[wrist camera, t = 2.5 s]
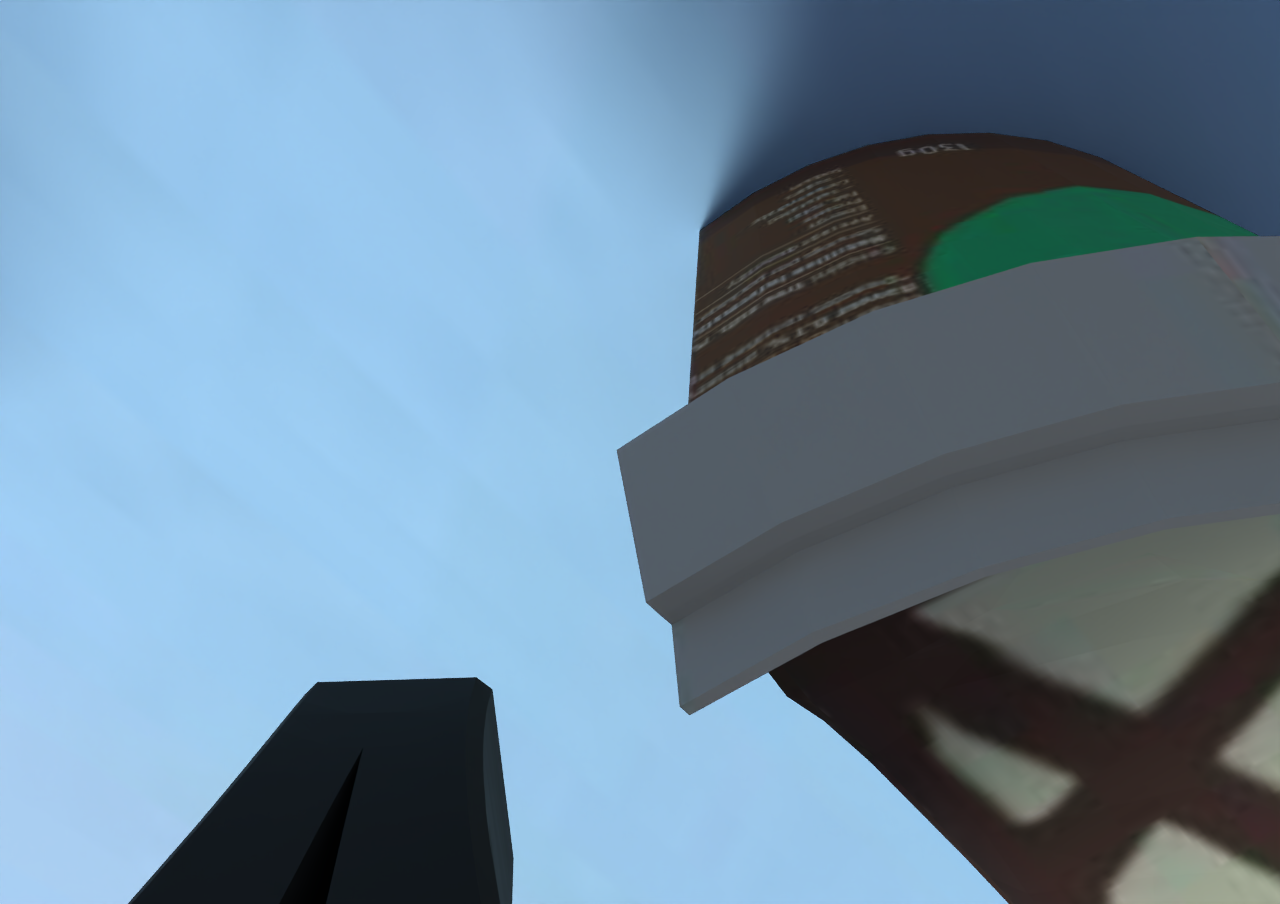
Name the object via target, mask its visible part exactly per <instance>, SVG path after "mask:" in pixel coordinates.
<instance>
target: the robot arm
mask: <svg viewBox="0 0 1280 904" xmlns="http://www.w3.org/2000/svg"><path fill="white" fill-rule="evenodd" d="M512 887H513V851H512V843H511V835H510V827H509V819H508V811H507V803H506V795H505V787H504V779H503V771H502V763H501V755H500V746H499V738H498V730H497V722H496V714H495V706H494V698H493V690H492V689H491V688H490V687H488V686H487V685H486V684H485V683H483V682H482V681H481V680H479V679H478V678H477V677H474V678H441V679H409V680H376V681H343V682H317V683H316V684H315V685H314V686H313V687H312V688H311V689H310V690H309V691H308V692H307V693H306V694H305V695H304V696H303V698H302V699H301V700H300V701H299V702H298V704H297V705H296V706H295V707H294V708H293V710H292V711H291V712H290V713H289V714H288V716H287V717H286V718H285V719H284V720H283V722H282V723H281V724H280V725H279V727H278V728H277V729H276V730H275V731H274V733H273V734H272V735H271V736H270V738H269V739H268V740H267V741H266V743H265V744H264V745H263V746H262V747H261V749H260V750H259V751H258V752H257V754H256V755H255V756H254V757H253V758H252V760H251V761H250V762H249V763H248V764H247V766H246V767H245V768H244V769H243V771H242V772H241V773H240V774H239V775H238V777H237V778H236V779H235V780H234V781H233V783H232V784H231V785H230V786H229V787H228V789H227V790H226V791H225V792H224V793H223V795H222V796H221V797H220V798H219V799H218V801H217V802H216V803H215V804H214V805H213V807H212V808H211V809H210V810H209V811H208V812H207V814H206V815H205V816H204V817H203V818H202V820H201V821H200V822H199V823H198V824H197V825H196V827H195V828H194V829H193V830H192V831H191V832H190V833H189V835H188V836H187V837H186V838H185V839H184V840H183V841H182V843H181V844H180V845H179V846H178V847H177V848H176V849H175V851H174V852H173V853H172V854H171V855H170V856H169V857H168V859H167V860H166V861H165V862H164V863H163V864H162V865H161V867H160V868H159V869H158V870H157V871H156V872H155V873H154V875H153V876H152V877H151V878H150V879H149V880H148V881H147V883H146V884H145V885H144V886H143V887H142V888H141V889H140V891H139V892H138V893H137V894H136V895H135V896H134V897H133V899H132V900H131V901H130V902H129V903H128V904H512Z"/></svg>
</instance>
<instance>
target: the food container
mask: <svg viewBox="0 0 1280 904" xmlns="http://www.w3.org/2000/svg"><path fill="white" fill-rule="evenodd" d="M617 454H618V459H619V465H620V470H621V475H622V480H623V485H624V491H625V496H626V501H627V506H628V511H629V517H630V522H631V527H632V532H633V537H634V543H635V548H636V553H637V558H638V563H639V569H640V574H641V579H642V584H643V589H644V595H645V600H646V603H647V604H648V605H650V606H651V607H652V608H653V609H654V610H655V611H656V612H657V613H659V614H660V615H661V616H662V617H663V618H664V619H665V620H667V621H668V622H669V623H670V624H671V625H672V633H673V643H674V653H675V663H676V674H677V684H678V694H679V704H680V707H681V708H682V709H683V710H684V711H685V712H687V713H688V714H689V715H691V714H693V713H694V712H696V711H698V710H700V709H702V708H704V707H705V706H707V705H709V704H711V703H713V702H715V701H716V700H718V699H720V698H722V697H724V696H726V695H727V694H729V693H731V692H733V691H735V690H737V689H738V688H740V687H742V686H744V685H746V684H748V683H749V682H751V681H753V680H755V679H757V678H758V677H760V676H762V675H764V674H766V673H768V672H769V674H770V675H771V676H772V678H773V679H774V680H775V681H776V683H777V684H778V685H779V687H780V688H781V689H782V691H783V692H784V693H785V694H786V696H787V697H789V698H790V699H792V700H793V701H795V702H796V703H798V704H799V705H801V706H802V707H804V708H805V709H807V710H808V711H810V712H811V713H813V714H814V715H816V716H817V717H819V718H820V719H822V720H823V721H825V722H826V723H827V724H828V725H829V726H830V727H831V728H833V729H834V730H835V731H836V732H837V733H838V734H839V735H840V736H842V737H843V738H844V739H845V740H846V741H847V742H848V743H850V744H851V745H852V746H853V747H854V748H855V749H856V750H857V751H859V752H860V753H861V754H862V755H863V756H864V757H865V758H866V759H868V760H869V761H870V762H871V763H872V764H873V765H874V766H875V767H876V768H877V769H878V770H879V771H880V772H881V773H882V774H883V775H884V776H885V777H886V778H887V779H888V780H889V781H890V782H891V783H892V784H893V785H894V786H895V787H896V788H897V789H898V790H899V791H900V792H901V793H902V794H903V795H904V796H905V797H906V798H907V799H908V800H909V801H910V802H911V803H912V804H913V805H914V806H915V807H916V808H917V809H918V810H919V811H920V812H921V813H922V814H923V815H924V816H925V817H926V818H927V819H928V820H929V821H930V823H931V824H932V825H933V826H934V827H935V828H936V829H937V830H938V831H939V832H940V833H941V834H942V835H943V836H944V837H945V838H946V839H947V840H948V841H949V842H950V843H951V844H952V845H953V846H954V847H955V848H956V849H957V850H958V851H959V852H960V853H961V854H962V855H963V856H964V857H965V858H966V859H967V860H968V861H969V862H970V863H971V864H972V865H973V866H974V867H975V868H976V869H977V870H978V872H979V873H980V874H981V875H982V876H983V877H984V878H985V879H986V880H987V881H988V882H989V883H990V884H991V885H992V886H993V887H994V888H995V889H996V891H997V892H998V893H999V894H1000V895H1001V896H1002V897H1003V898H1004V899H1005V900H1006V901H1007V902H1008V903H1009V904H1280V236H1258V235H1256V234H1254V233H1252V232H1250V231H1248V230H1246V229H1244V228H1242V227H1240V226H1238V225H1236V224H1234V223H1232V222H1230V221H1228V220H1226V219H1224V218H1222V217H1220V216H1217V215H1215V214H1213V213H1211V212H1209V211H1207V210H1205V209H1203V208H1201V207H1199V206H1197V205H1195V204H1193V203H1191V202H1189V201H1187V200H1185V199H1183V198H1181V197H1179V196H1177V195H1175V194H1173V193H1171V192H1169V191H1167V190H1165V189H1163V188H1161V187H1159V186H1157V185H1155V184H1153V183H1151V182H1149V181H1147V180H1145V179H1143V178H1141V177H1139V176H1137V175H1135V174H1133V173H1131V172H1129V171H1127V170H1125V169H1123V168H1121V167H1119V166H1117V165H1115V164H1112V163H1110V162H1108V161H1106V160H1104V159H1102V158H1100V157H1097V156H1094V155H1091V154H1088V153H1084V152H1081V151H1078V150H1075V149H1072V148H1069V147H1066V146H1062V145H1059V144H1056V143H1053V142H1050V141H1046V140H1039V139H1031V138H1024V137H1017V136H1009V135H1002V134H994V133H960V134H927V135H922V136H916V137H911V138H905V139H900V140H894V141H889V142H883V143H877V144H872V145H867V146H864V147H861V148H858V149H855V150H852V151H849V152H846V153H843V154H840V155H837V156H834V157H831V158H828V159H825V160H822V161H819V162H816V163H813V164H810V165H808V166H806V167H804V168H802V169H800V170H798V171H796V172H794V173H792V174H790V175H788V176H786V177H784V178H782V179H780V180H778V181H776V182H774V183H772V184H770V185H768V186H766V187H764V188H762V189H760V190H758V191H756V192H754V193H753V194H751V195H750V196H748V197H747V198H746V199H744V200H743V201H741V202H740V203H739V204H737V205H736V206H734V207H733V208H732V209H730V210H729V211H727V212H726V213H724V214H723V215H722V216H720V217H719V218H717V219H716V220H715V221H713V222H712V223H710V224H709V225H708V226H706V227H705V228H703V229H702V230H701V231H700V232H699V248H698V263H697V278H696V294H695V309H694V324H693V339H692V355H691V370H690V385H689V401H688V405H686V406H684V407H683V408H681V409H680V410H678V411H677V412H675V413H674V414H672V415H670V416H669V417H667V418H666V419H664V420H663V421H661V422H660V423H658V424H656V425H655V426H653V427H652V428H650V429H649V430H647V431H646V432H644V433H643V434H641V435H639V436H638V437H636V438H635V439H633V440H632V441H630V442H629V443H627V444H625V445H624V446H622V447H621V448H619V449H618V450H617Z"/></svg>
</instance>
